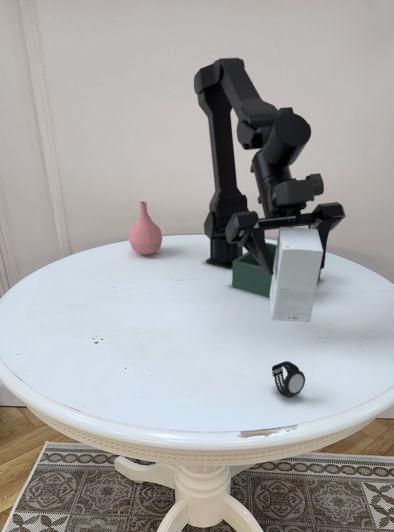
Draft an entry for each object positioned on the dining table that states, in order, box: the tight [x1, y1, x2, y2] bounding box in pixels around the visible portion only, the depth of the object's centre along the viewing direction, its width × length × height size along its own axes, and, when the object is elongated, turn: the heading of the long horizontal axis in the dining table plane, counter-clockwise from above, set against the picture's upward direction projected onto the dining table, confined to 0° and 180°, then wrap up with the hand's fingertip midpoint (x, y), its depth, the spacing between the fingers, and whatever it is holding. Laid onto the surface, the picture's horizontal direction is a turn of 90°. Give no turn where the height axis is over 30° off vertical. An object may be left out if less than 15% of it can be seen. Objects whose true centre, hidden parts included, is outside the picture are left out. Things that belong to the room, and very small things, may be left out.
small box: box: [269, 227, 323, 323], centre depth 86 cm, size 8×6×13 cm
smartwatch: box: [271, 360, 306, 399], centre depth 77 cm, size 4×5×5 cm
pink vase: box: [128, 201, 163, 256], centre depth 121 cm, size 8×8×12 cm
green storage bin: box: [231, 242, 322, 298], centre depth 108 cm, size 14×13×6 cm
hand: (296, 272), depth 84 cm, fingers closed on small box, 8 cm apart
